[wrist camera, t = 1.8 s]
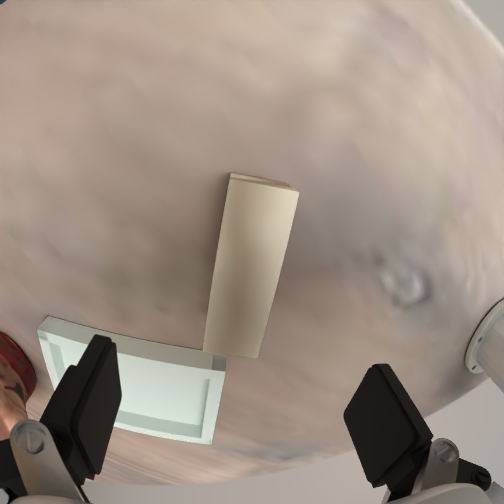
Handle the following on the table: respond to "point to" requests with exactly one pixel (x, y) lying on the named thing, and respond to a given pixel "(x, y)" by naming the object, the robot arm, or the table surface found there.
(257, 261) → the birch block
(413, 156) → the table surface
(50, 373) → the tray
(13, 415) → the decorative planter
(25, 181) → the table surface
